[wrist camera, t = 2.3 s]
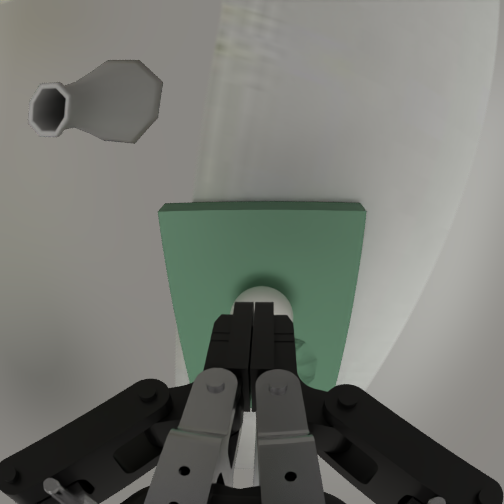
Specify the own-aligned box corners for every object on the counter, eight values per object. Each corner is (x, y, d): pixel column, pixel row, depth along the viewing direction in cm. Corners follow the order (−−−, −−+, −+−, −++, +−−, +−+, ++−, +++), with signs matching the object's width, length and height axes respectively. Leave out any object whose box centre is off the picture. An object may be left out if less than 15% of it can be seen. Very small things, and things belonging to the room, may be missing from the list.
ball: (231, 274, 26) (224, 311, 22) (292, 274, 26) (297, 311, 22) (234, 321, 29) (228, 361, 24) (290, 322, 28) (293, 362, 24)
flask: (179, 76, 21) (124, 66, 12) (141, 157, 24) (76, 193, 15) (106, 47, 20) (28, 34, 11) (74, 125, 23) (-5, 147, 14)
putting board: (165, 203, 26) (43, 359, 10) (359, 203, 25) (470, 366, 9) (198, 392, 37) (171, 524, 21) (328, 394, 36) (343, 529, 20)
